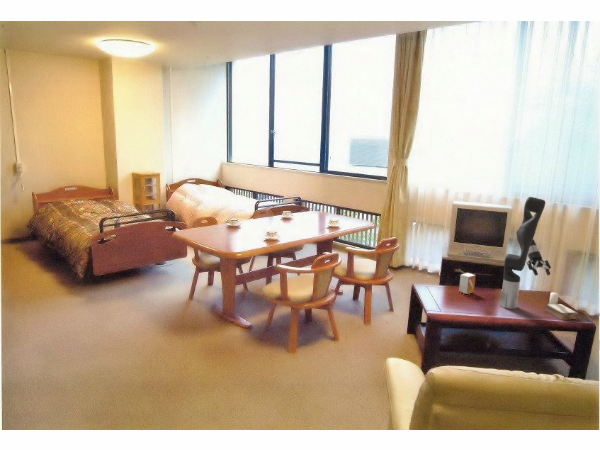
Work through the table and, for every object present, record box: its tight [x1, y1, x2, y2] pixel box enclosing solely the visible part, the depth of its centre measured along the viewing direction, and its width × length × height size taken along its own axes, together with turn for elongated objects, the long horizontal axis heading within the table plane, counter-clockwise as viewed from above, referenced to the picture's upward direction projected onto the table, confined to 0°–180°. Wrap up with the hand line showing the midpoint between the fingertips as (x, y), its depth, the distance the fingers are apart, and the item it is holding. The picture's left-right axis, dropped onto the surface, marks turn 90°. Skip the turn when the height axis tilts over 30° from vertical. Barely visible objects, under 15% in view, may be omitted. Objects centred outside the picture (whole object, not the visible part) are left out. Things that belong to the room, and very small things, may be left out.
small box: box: [458, 272, 477, 294], centre depth 290 cm, size 8×6×13 cm
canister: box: [548, 291, 559, 304], centre depth 271 cm, size 4×4×8 cm
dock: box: [544, 303, 579, 321], centre depth 256 cm, size 10×14×4 cm
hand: (542, 275), depth 281 cm, fingers open, 8 cm apart
